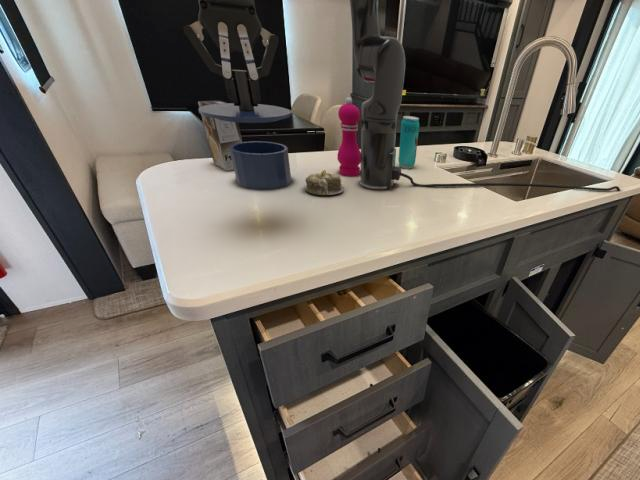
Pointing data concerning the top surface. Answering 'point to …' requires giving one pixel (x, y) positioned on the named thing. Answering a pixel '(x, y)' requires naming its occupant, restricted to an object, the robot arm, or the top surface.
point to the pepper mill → (349, 140)
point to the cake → (324, 184)
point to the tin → (261, 165)
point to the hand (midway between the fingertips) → (246, 105)
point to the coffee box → (220, 137)
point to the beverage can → (408, 141)
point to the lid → (244, 105)
